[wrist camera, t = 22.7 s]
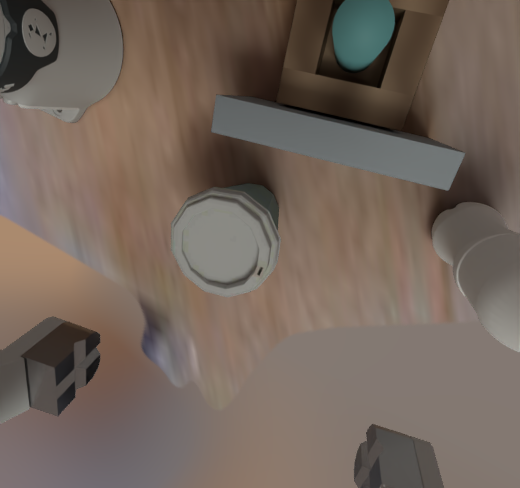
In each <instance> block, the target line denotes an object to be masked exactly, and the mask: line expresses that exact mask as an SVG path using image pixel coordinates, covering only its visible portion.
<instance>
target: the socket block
mask: <svg viewBox="0 0 520 488" xmlns="http://www.w3.org/2000/svg"><path fill="white" fill-rule="evenodd" d="M344 1H345V0H297V3H296V8H295V13H294V17H293V22H292V27H291V32H290V37H289V42H288V46H287V51H286V56H285V61H284V66H283V70H282V75H281V80H280V85H279V90H278V94H277V99H276V102H279V103H283V104H288V105H292V106H296V107H301V108H305V109H309V110H314V111H318V112H322V113H326V114H331V115H335V116H339V117H344V118H348V119H352V120H357V121H361V122H365V123H370V124H374V125H378V126H382V127H387V128H391V129H395V130H400V131H402V128H403V126H404V123H405V120H406V117H407V115H408V112H409V109H410V106H411V104H412V101H413V98H414V96H415V93H416V90H417V87H418V85H419V82H420V79H421V76H422V74H423V71H424V68H425V65H426V63H427V60H428V57H429V54H430V52H431V49H432V46H433V43H434V41H435V38H436V35H437V32H438V30H439V27H440V24H441V22H442V19H443V16H444V13H445V11H446V8H447V5H448V2H449V0H389V2H390V3H391V5H392V7H393V10H394V15H395V25H394V30H393V33H392V36H391V38H390V40H389V42H388V43H387V45H386V46H385V47H384V49H383V50H382V51H381V52H380V54H379V55H378V56H377V57H376V59H375V60H374V61H373V62H372V63H371V65H370V66H369V67H368V68H367V69H365V70H364V71H362V72H359V73H348V72H345V71H344V70H342V69H341V68H340V67H339V66H338V64H337V62H336V59H335V52H334V43H333V34H332V27H333V21H334V17H335V15H336V12H337V10H338V9H339V7H340V6H341V4H342V3H343V2H344Z"/></svg>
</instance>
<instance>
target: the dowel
mask: <svg viewBox="0 0 520 488" xmlns="http://www.w3.org/2000/svg"><path fill="white" fill-rule="evenodd" d="M394 25H395V15H394V10H393V7H392V5H391V3H390V2H389V0H345V1H344V2H343V3H342V4H341V6H340V7H339V9H338V10H337V12H336V15H335V17H334V21H333V27H332V34H333V43H334V52H335V59H336V62H337V64H338V66H339V67H340V68H341V69H342V70H344V71H345V72H348V73H359V72H362V71H364V70H365V69H367V68H368V67H369V66H370V65H371V63H372V62H373V61H374V60H375V59H376V57H377V56H378V55H379V54H380V52H381V51H382V50H383V49H384V47H385V46H386V45H387V43H388V42H389V40H390V38H391V36H392V33H393V30H394Z"/></svg>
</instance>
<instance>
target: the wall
mask: <svg viewBox="0 0 520 488" xmlns="http://www.w3.org/2000/svg"><path fill="white" fill-rule="evenodd" d="M211 132H213V133H217V134H221V135H225V136H229V137H233V138H237V139H241V140H245V141H250V142H254V143H258V144H262V145H266V146H270V147H274V148H278V149H282V150H286V151H290V152H294V153H298V154H302V155H306V156H310V157H314V158H318V159H322V160H326V161H330V162H334V163H338V164H342V165H346V166H350V167H354V168H358V169H362V170H366V171H370V172H374V173H378V174H383V175H387V176H391V177H395V178H399V179H403V180H407V181H411V182H415V183H419V184H423V185H427V186H431V187H435V188H439V189H443V190H447V191H449V189H450V186H451V184H452V182H453V180H454V177H455V175H456V173H457V171H458V169H459V166H460V164H461V162H462V160H463V158H464V155H465V153H464V152H462V151H459V150H457V149H454V148H452V147H450V146H447V145H445V144H442V143H440V142H437V141H435V140H433V139H430V138H427V137H423V136H418V135H414V134H410V133H406V132H401V131H397V130H393V129H388V128H384V127H380V126H375V125H371V124H367V123H363V122H358V121H354V120H350V119H345V118H341V117H337V116H332V115H328V114H324V113H319V112H315V111H311V110H307V109H302V108H298V107H294V106H289V105H285V104H281V103H276V102H272V101H268V100H264V99H259V98H255V97H250V96H232V95H216V101H215V108H214V115H213V122H212V129H211Z"/></svg>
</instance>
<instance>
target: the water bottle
mask: <svg viewBox="0 0 520 488" xmlns="http://www.w3.org/2000/svg"><path fill="white" fill-rule="evenodd" d="M431 234H432V243H433V247H434V249H435V251H436V253H437V254H438V256H439V257H440V258H441V259H442V260H444V261H445V262H447V263H448V264H450V265H452V266H453V275H454V279H455V282H456V284H457V286H458V288H459V289H460V291H461V292H462V294H463V295H464V296H465V297H466V298H467V299H468V300H469V302H470V303H471V305H472V307H473V308H474V310H475V311H476V313H477V315H478V319H479V320H480V322H481V324H482V325H483V327H484V328H485V329H486V330H487V331H488V332H489V333H490V334H491V335H492V336H493V337H494V338H495V339H497V340H498V341H499V342H501V343H502V344H504V345H505V346H507V347H509V348H511V349H513V350H515V351H517V352H520V234H519V233H516V232H513V231H511V230H509V229H508V227H507V223H506V221H505V219H504V218H503V216H502V215H501V214H500V213H499V212H498V211H497V210H495V209H494V208H492V207H490V206H488V205H485V204H481V203H476V202H463V203H460V204H457V205H456V207H455V208H453V209H450V210H445V211H443V212H442V213H440V214H439V215H438V217H437V218H436V220H435V222H434V224H433V226H432V232H431Z"/></svg>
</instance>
